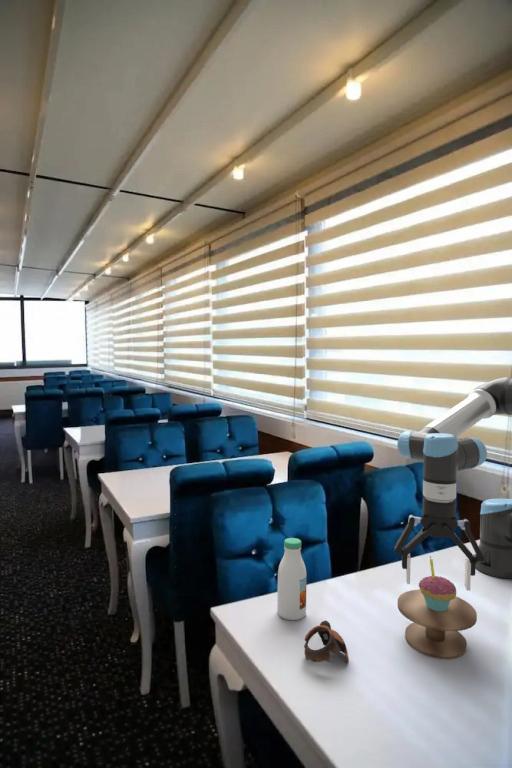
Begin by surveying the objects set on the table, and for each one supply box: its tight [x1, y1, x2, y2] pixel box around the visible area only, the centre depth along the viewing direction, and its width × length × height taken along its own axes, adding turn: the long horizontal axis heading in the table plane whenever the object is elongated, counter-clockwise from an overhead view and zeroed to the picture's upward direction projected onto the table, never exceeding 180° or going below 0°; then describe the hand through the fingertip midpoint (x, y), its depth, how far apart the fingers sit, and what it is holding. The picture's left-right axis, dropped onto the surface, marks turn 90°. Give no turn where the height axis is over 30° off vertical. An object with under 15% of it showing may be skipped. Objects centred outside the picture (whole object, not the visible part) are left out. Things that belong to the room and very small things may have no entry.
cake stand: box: [397, 589, 478, 660], centre depth 117 cm, size 18×18×9 cm
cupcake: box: [418, 555, 457, 612], centre depth 116 cm, size 9×8×12 cm
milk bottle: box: [276, 537, 307, 621], centre depth 129 cm, size 8×8×20 cm
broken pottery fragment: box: [303, 619, 350, 664], centre depth 110 cm, size 12×10×8 cm
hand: (437, 584), depth 117 cm, fingers open, 13 cm apart
